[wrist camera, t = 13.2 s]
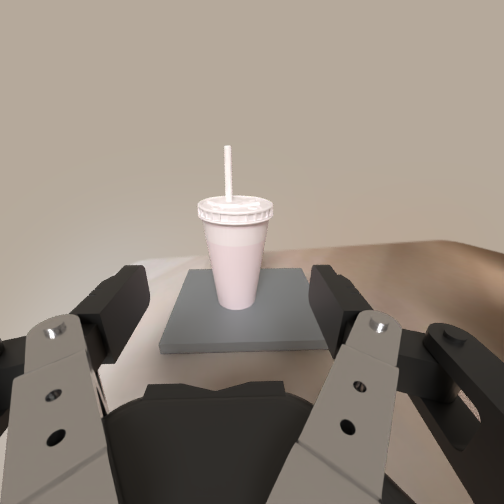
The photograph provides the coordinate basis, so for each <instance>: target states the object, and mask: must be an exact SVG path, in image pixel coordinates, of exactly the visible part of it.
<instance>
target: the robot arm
mask: <svg viewBox="0 0 504 504" xmlns="http://www.w3.org/2000/svg"><path fill="white" fill-rule="evenodd" d="M308 298H309V304H310V307H311V309H312V311H313V314H314V316H315V318H316V321H317V323H318V325H319V327H320V330H321V332H322V334H323V337H324V339H325V341H326V344H327V346H328V348H329V351H330V353H331V355H332V358H333V360H334V359H335V361H334V363H333V365H332V367H331V369H330V372H329V374H328V376H327V378H326V380H325V383H324V385H323V387H322V389H321V391H320V394H319V396H318V398H317V400H316V402H315V404H314V405H313V404H311V403H310V402H308V401H306V400H305V399H303V398H300V397H298V396H296V395H293V394H290V393H286V392H285V389H284V384H283V381H261V382H248V383H244V384H240V385H237V386H233V387H230V388H226V389H222V390H218V391H212V390H207V389H203V388H199V387H194V386H190V385H186V384H149V385H148V386H147V388H146V391H145V393H144V396H143V397H141V398H138V399H135V400H133V401H130V402H128V403H126V404H124V405H122V406H120V407H118V408H117V409H115V410H113V411H112V412H109V409H108V405H107V401H106V397H105V394H104V390H103V386H102V382H101V379H100V375H99V372H98V369H99V367H100V366H101V364H115V363H116V361H117V359H118V357H119V356H120V354H121V352H122V351H123V349H124V347H125V345H126V344H127V342H128V340H129V339H130V337H131V335H132V333H133V332H134V330H135V328H136V327H137V325H138V323H139V321H140V320H141V318H142V316H143V315H144V313H145V311H146V309H147V308H148V306H149V302H150V292H149V286H148V281H147V276H146V271H145V268H144V266H142V265H125V266H124V267H123V268H122V269H121V270H120V271H119V272H118V273H117V274H116V275H115V276H112V277H110V278H108V279H106V280H104V281H103V282H101V283H100V284H99V285H98V286H97V287H96V288H95V290H93V291H92V292H91V293H90V294H89V296H87V297H86V298H85V299H84V300H83V301H82V302H81V303H80V304H79V305H78V306H77V307H76V308H75V309H73V310H72V311H71V312H70V313H69V314H65V315H59V316H55V317H52V318H49V319H47V320H45V321H43V322H41V323H39V324H37V325H36V326H35V327H33V328H32V329H31V330H30V331H29V332H28V334H27V336H23V337H19V338H14V339H9V340H5V341H1V339H0V436H1V435H2V434H3V432H4V431H5V430H6V429H7V427H8V434H7V443H6V454H5V463H4V473H3V482H2V492H1V502H0V504H416V503H415V502H414V501H413V500H412V499H411V498H410V497H409V496H408V495H407V494H406V493H405V492H404V491H403V490H402V489H401V488H400V487H399V486H398V485H397V484H396V483H395V482H394V481H393V480H392V479H391V478H390V477H389V476H388V475H387V474H385V466H386V459H387V452H388V445H389V438H390V431H391V424H392V417H393V410H394V403H395V396H396V391H399V392H403V393H407V394H408V395H409V397H410V399H411V400H412V402H413V404H414V405H415V407H416V408H417V410H418V412H419V413H420V415H421V417H422V418H423V420H424V422H425V423H426V425H427V426H428V428H429V430H430V431H431V433H432V435H433V436H434V438H435V440H436V441H437V443H438V445H439V446H440V448H441V449H442V451H443V453H444V454H445V456H446V458H447V459H448V461H449V463H450V464H451V466H452V467H453V469H454V471H455V472H456V474H457V476H458V477H459V479H460V481H461V482H462V484H463V485H464V487H465V489H466V490H467V492H468V494H469V495H470V497H471V499H472V500H473V502H474V504H504V363H503V362H502V361H501V360H500V359H499V358H498V357H497V356H495V355H494V354H493V353H492V352H491V351H490V350H489V349H487V348H486V347H485V346H484V345H483V344H482V343H481V342H479V341H478V340H477V339H476V338H475V337H473V336H472V335H471V334H469V333H468V332H466V331H464V330H462V329H460V328H458V327H455V326H452V325H449V324H444V323H433V324H430V325H429V327H428V329H427V331H426V334H425V333H420V332H415V331H410V330H405V329H402V328H401V325H400V324H399V323H398V321H396V320H395V319H394V318H393V317H391V316H389V315H387V314H385V313H383V312H379V311H375V310H373V309H372V307H371V306H370V305H369V304H368V302H367V301H366V300H365V299H364V297H363V296H362V295H361V294H359V291H358V290H357V289H356V288H355V286H354V285H353V284H352V283H351V281H350V280H348V279H347V278H345V277H344V276H342V275H337V274H336V273H335V271H334V270H333V269H332V267H331V266H330V265H313V266H312V270H311V278H310V285H309V293H308ZM460 389H461V390H462V391H463V392H464V393H465V395H466V396H467V397H468V398H469V399H470V400H471V402H472V403H473V404H474V405H475V407H476V408H477V410H478V412H479V415H480V419H481V423H480V422H479V420H478V419H477V418H476V417H475V415H474V414H473V413H472V412H471V410H470V409H469V408H468V407H467V405H466V404H465V403H464V402H463V401H462V399H461V398H460V397H459V396H458V393H459V391H460Z"/></svg>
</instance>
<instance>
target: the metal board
mask: <svg viewBox="0 0 504 504" xmlns="http://www.w3.org/2000/svg"><path fill="white" fill-rule="evenodd" d="M308 293H309V283H308V281H307V279H306V277H305V275H304V273H303V271H302V269H301V268H279V269H260V274H259V280H258V285H257V291H256V297H255V301H254V303H253V304H252V305H251V306H250V307H248V308H245V309H241V310H231V309H227V308H225V307H223V306H222V305H220V303H219V301H218V296H217V291H216V286H215V281H214V276H213V271H212V269H194V270H189V271H188V274H187V276H186V279H185V281H184V283H183V286H182V288H181V291H180V293H179V296H178V298H177V301H176V303H175V306H174V308H173V311H172V313H171V315H170V318H169V320H168V323H167V325H166V328H165V330H164V333H163V335H162V338H161V340H160V343H159V348H160V353H161V354H177V353H212V352H247V351H282V350H317V349H329V348H328V346H327V344H326V341H325V339H324V337H323V334H322V332H321V330H320V327H319V325H318V323H317V321H316V318H315V316H314V314H313V311H312V309H311V307H310V304H309V298H308Z"/></svg>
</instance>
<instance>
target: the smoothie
mask: <svg viewBox="0 0 504 504" xmlns="http://www.w3.org/2000/svg"><path fill="white" fill-rule="evenodd" d="M231 154H232V153H231V146H224V159H225V193H226V196H219V197H211V198H207V199H204V200H202V201H200V202H199V203H198V217H199V218H200V219H202V221H203V226H204V231H205V237H206V240H207V246H208V250H209V256H210V261H211V266H212V271H213V276H214V281H215V286H216V291H217V296H218V301H219V303H220V305H222V306H223V307H225V308H227V309H231V310H241V309H245V308H248V307H250V306H251V305H252V304H253V303H254V301H255V297H256V291H257V285H258V280H259V274H260V268H261V262H262V256H263V251H264V245H265V239H266V234H267V228H268V221H269V219H271V218H272V217H273V204H272V202H270V201H269V200H266V199H263V198H259V197H252V196H232V155H231Z"/></svg>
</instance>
